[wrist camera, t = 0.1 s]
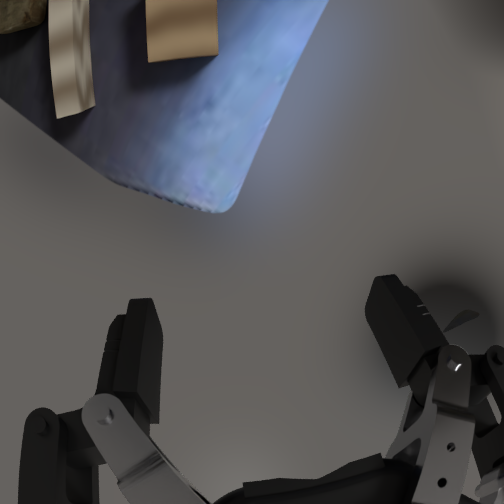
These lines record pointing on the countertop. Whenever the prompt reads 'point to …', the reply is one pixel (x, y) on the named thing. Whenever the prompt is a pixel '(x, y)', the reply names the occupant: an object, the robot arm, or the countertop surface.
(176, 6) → the oak block
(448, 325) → the countertop surface
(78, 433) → the robot arm
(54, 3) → the board
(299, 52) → the countertop surface
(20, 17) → the stone block
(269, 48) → the countertop surface
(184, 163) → the countertop surface
